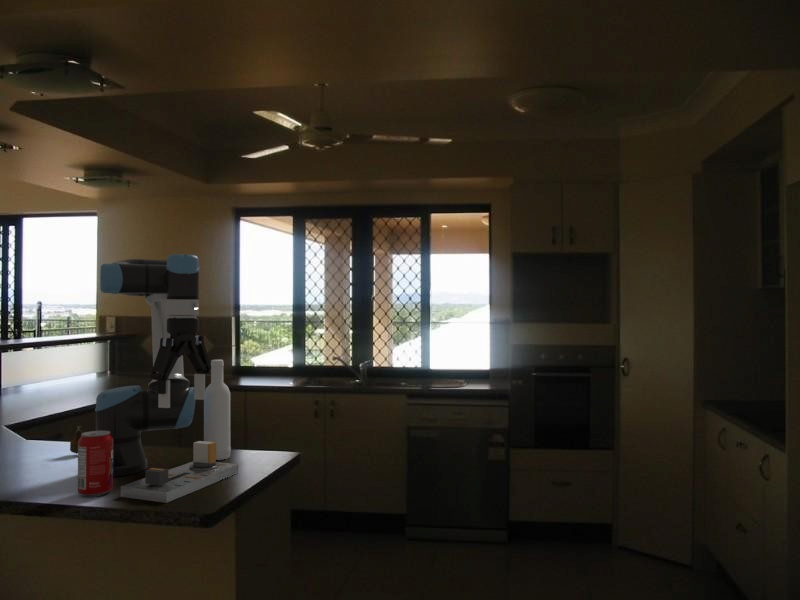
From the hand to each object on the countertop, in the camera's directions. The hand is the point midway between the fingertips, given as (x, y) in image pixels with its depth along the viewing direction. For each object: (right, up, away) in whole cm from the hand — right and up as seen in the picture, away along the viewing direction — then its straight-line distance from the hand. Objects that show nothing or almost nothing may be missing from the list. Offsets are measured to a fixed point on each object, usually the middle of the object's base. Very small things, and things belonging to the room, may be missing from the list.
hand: (182, 403), depth 152 cm
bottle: (-3, -23, +37) cm, 44 cm away
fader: (-6, -22, 0) cm, 23 cm away
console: (-3, -22, +9) cm, 24 cm away
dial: (0, -20, +17) cm, 26 cm away
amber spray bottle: (-48, -24, +42) cm, 68 cm away
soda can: (-22, -23, +1) cm, 31 cm away
